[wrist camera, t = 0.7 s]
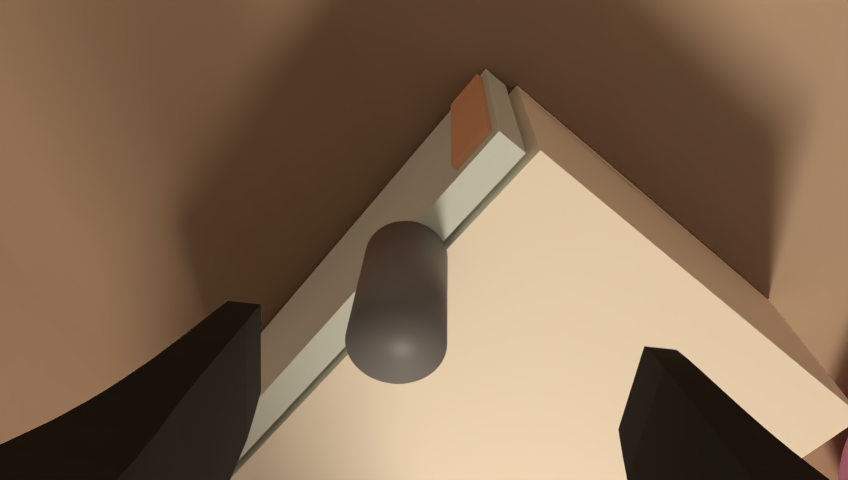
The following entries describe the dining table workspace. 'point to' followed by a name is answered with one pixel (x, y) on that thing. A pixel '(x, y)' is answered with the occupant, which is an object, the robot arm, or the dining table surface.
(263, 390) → the flap
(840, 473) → the teapot
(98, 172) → the dining table surface
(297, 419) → the carton
